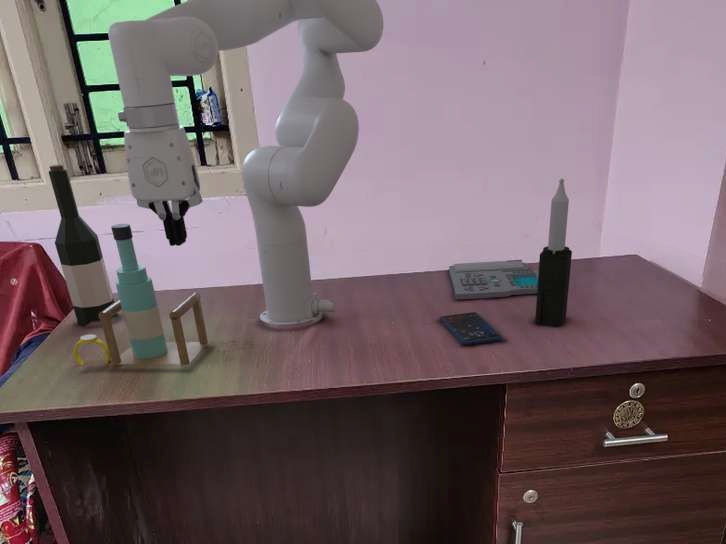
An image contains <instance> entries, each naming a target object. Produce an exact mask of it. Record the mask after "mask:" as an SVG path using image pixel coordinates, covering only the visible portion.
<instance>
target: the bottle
mask: <svg viewBox="0 0 726 544" xmlns="http://www.w3.org/2000/svg"><path fill="white" fill-rule="evenodd" d="M111 232H112V237H113V240H114V241H115V243H116V247H117V251H118V256H119V259H120V264H121V267H119V268H117V269H116V275H117V279H118V280H117V281H115V287H116V291H117V295H118V300H119V299H120V303H121V307H122V310H121V312H122V316H123V321H124V322H125V327H126V331H127V336H128V338H129V342H130V347H132V351H133V355H134V356H135V357H136V358H141V359H148V358H154V357H158V356H161V355H163V354H165V353H166V352H167V346H166V342H167V341H166V337H165V332H164V327H163V322H162V317H161V313H160V309H159V304H158V301H157V296H156V292H155V288H154V284H153V279H152V277H151V276H149V275H148V274H147V269H146V266H145V265H142V264H138V259H137V255H136V251H135V246H134V242H133V237H134V236H133V232H132V229H131V224H130V223H117V224H114V225H111Z"/></svg>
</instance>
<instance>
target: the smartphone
mask: <svg viewBox="0 0 726 544" xmlns="http://www.w3.org/2000/svg"><path fill="white" fill-rule="evenodd" d="M439 321H440V322H441V323H442V324H443V325H444V326H445V327H446V328H447V329H448V330H449V332H451V334H452V335H453V336H454V337H455V338H456V339H457V341H459V342H460V343H461V345H463V346H470V345H478V344H483V343H484V344H485V343H491V342H500V341H502V340H503V336H502V335H501V334H500V333H499V332H498V331H497V330H496V329H495V328H493V326H491V325H490V324H489V323H488V322H487V321H486V320H485V319H484V318H483V317H482V316H481V315H480V314H479V313H477V312H476V311H473V312H464V313H456V314H448V315H442V316H440V317H439Z"/></svg>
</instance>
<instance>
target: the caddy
mask: <svg viewBox="0 0 726 544" xmlns="http://www.w3.org/2000/svg"><path fill="white" fill-rule="evenodd" d="M190 309H192V311H193V317H194V321H195V326H196V332H197V336H198V341H186V338H185V333H184V328H183V323H182V319H181V318H182V316H184V314H186V313H187V312H188V311H190ZM120 311H122V307H121V303H120V299H119V298H118V299H117V300H116V301H114V303H113V304H112V305H110V306H109V307H107V308H106V309H104V310H103V311H102V312H100V313H99V315H98V317H99V319H100V320H101V321H100V324H101V327H102V331H103V334H104V335H103V336H104V338H105V343H106V345H107V346H108V349H109V353H110V357H111V358H110V361H111V363H110V365H146V366H147V365H149V366H150V365H152V366H153V365H154V366H155V365H156V366H157V365H160V366H161V365H162V366H164V365H165V366H166V365H167V366H168V365H169V366H170V365H172V366H174V365H177V366H179V365H181V366H182V365H183V366H185V365H186V366H189V365H190V364H191V363H192V362H193V360H194V359H195V358H196V357H197V356H199V354H200V353H201V352H202V351H203V350H204V349H205V348H206V347H207V346H208V345H209V343H210V341H209V340H208V334H207V330H206V323H205V319H204V314H203V309H202V303H201V295H200V293H199V292H192V294H190V295H189V296H188V297H186V298H185V299H184V300H183V301H182V302H181V303H179V304H178V305H177V306H176V307H175V308H173V310H172V311H170V313H168V314H169V315H168V316H169V319H170V321H171V326H172V331H173V335H174V340H175V341H166V346H167V352H166V353H165V354H163V355H161V356H158V357H154V358H148V359H141V358H136V357H135V356H134V355H133V351H132V347H131V346H129V347H128V348H127V349H126V350H125V351H123V352H122V353H121V354H120V351H119V347H118V344H117V343H118V342H117V339H116V336H115V332H114V328H113V325H112V320H111V318H113V317H112V316H113V315H115V314H116V313H117V314H118V313H119V312H120Z"/></svg>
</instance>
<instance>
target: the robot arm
mask: <svg viewBox="0 0 726 544" xmlns="http://www.w3.org/2000/svg"><path fill="white" fill-rule="evenodd" d="M294 22H297V33H298V39H299V43H300V50H301V54H302V62H303V65H302V66H303V68H302V73H301V75H300V78H299V80H298V82H297V83H296V86H295V87H294V89H293V91H292V92H291V94H290V96H289V98H288V99H287V101H286V103H285V104H284V106H283V108H282V110H281V112H280V114H279V116H278V118H277V120H276V124H275V129H274V133H275V134H274V135H275V139H276V141H277V144H278V145H264V146H260V147H257V148H254V149H252V150H251V151H250V152H249V153H248V154H247V155H246V157H245V159H244V160H243V162H242V167H241V180H242V184H243V189H244V191H245V195H246V198H247V200H248V204H249V207H250V210H251V215H252V219H253V226H254V231H255V237H256V238H255V239H256V245H257V252H258V260H259V267H260V273H261V274H260V275H261V281H262V289H263V295H264V302H265V309H266V310H263V312H261V314H260V315H259V319H260V320H261V321H262V322H264V323H266V324H271V325H277V326H278V325H280V326H283V325H284V326H285V325H296V324H302V323H303V324H304V323H306V322H310V324H309V326H312V325H315V324H317V323H318V322H319V321H321V320H322V318H323V312H324V313H335V309H336V305H335V302H334V301H331V299H319V298H318V295H317V292H313V286H312V277H311V267H310V257H309V255H310V254H309V246H308V236H307V235H308V234H307V227H306V223H305V220H304V219H305V218H304V217H303V214H302V212H301V210H300V207H303V208H304V207H305V208H313V207H318V206H320V205H321V204H323V203H324V202H325V201H326V200H327V199H328V198H329V197H330V195H331V193H332V192H333V190H334V189H335V187H336V185H337V183H338V181H339V180H340V178H341V176H342V174H343V173H344V171H345V169H346V167H347V165H348V163H349V162H350V160H351V158H352V156H353V154H354V152H355V149H356V147H357V144H358V139H359V132H360V125H359V118H358V114H357V112H356V110H355V108H354V107H353V105H352V104H351V103H349V102H348V101H347V100H344V97H345V93H346V83H345V79H344V76H343V73H342V70H341V67H340V63H339V60H338V59H339V58H338V54H348V53H351V54H352V53H365V52H368V51H370V50H373V49H374V48H375V47H377V45H378V44H379V43H380V42H381V40H382V36H383V33H384V16H383V12H382V9H381V7H380V4H379V3H378V1H377V0H187V1H183V2H181V3H179V4H176V5H174V6H172V7H168V8H167V9H165V10H163V11H161V12H158V13H156V14H154V15H152V16H150V17H148V18H146V19H139V20H137V19H136V20H125V21H117V22H114V23H112V24H111V25H110V26H109V27H108V33H107V34H108V41H109V45H110V49H111V54H112V59H113V63H114V67H115V72H116V73H115V74H116V76H117V81H118V85H119V90H120V95H121V99H122V103H123V108H122V110H123V111H118V112H117V117H118V120H119V122H120V123H126V127H128V130H125V131H123V138H124V139H123V141H124V142H123V143H124V155H125V164H126V170H127V171H126V172H127V177H128V183H129V189H130V191H131V195H132V198H133V199H135V200H136V205H137V207H139V208H144V209H149V210H151V211H152V212H153V213H154V214H156V215H157V217H158V218H159V220H160V221H162V224H163V229H164V233H165V238H166V239H167V240H168V243H169V246H170V247H174V246H176V247H177V246H178V247H179V246H182V245H183V244H184V243H186V242H187V238H188V233H187V228H186V223H185V222H186V221H185V216H186V215H187V212H188V211H189V209H190V208H193V207H196V206H199V205H200V204H202V203H203V197H202V195H201V192H200V191H201V183H200V177H199V172H198V167H197V164H196V160H195V156H194V153H193V149H192V146H191V143H190V140H189V137H188V134H187V132H186V130H185V127H184V126H180V121H179V115H178V111H177V105H176V100H175V99H176V98H175V95H174V89H173V83H172V77H193V76H200V75H204V74H205V73H207V72H209V71H210V70H212V69H213V68H212V67H214V65H215V64H216V62H217V60H218V56H219V52H222V51H229V50H235V49H241V48H243V47H247V46H251V45H254V44H256V43H258V42H260V41H261V40H263V39H265V38H267V37H268V36H271V35H272V34H274V33H276V32H278V31H279V30H282V29H283V28H285V27H287V26H288V25H291V24H292V23H294ZM170 202H171V205H170Z"/></svg>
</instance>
